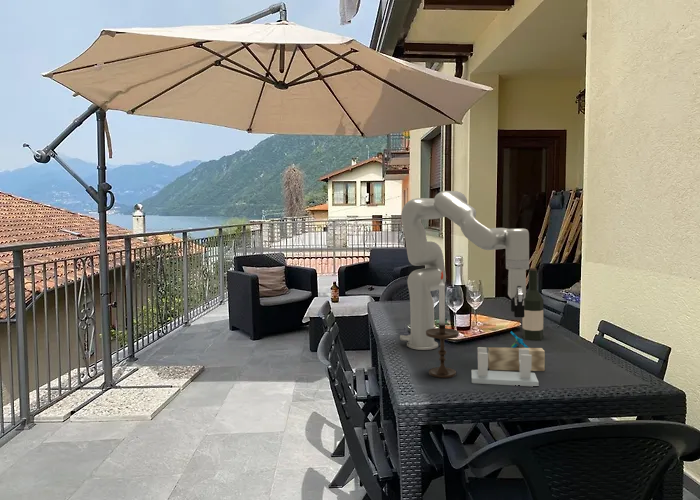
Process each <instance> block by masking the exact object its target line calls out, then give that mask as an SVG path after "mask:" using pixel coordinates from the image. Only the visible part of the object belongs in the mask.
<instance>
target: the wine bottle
mask: <svg viewBox="0 0 700 500" xmlns="http://www.w3.org/2000/svg"><path fill="white" fill-rule="evenodd" d="M526 291H527V292H526V295H525V298H524V317H521V318H522V329H521V330H522V331H521V332H522V336H521V337H522V338H521V339H523V340H528V341H542V340H543V339H544V298H543V297H542V295H541V293H540V292H539V290H538V270H537V268H536V267H529V269H528V289H527V290H526Z"/></svg>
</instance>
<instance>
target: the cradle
mask: <svg viewBox="0 0 700 500" xmlns="http://www.w3.org/2000/svg"><path fill="white" fill-rule="evenodd" d="M531 363H532V355H529V349H519V364H520V371H508V370H488V369H489V367H488V347H484V346H483V347H482V346H479V347H477V369H471V370H470V371H471V384H479V385H480V384H483V385H496V386H497V385H499V386H500V385H501V386H515V385H516V387H519V386H518V385H520V387H533V386H539V387H540V385H539V380H538V378H537V375H536V373H535V372H532V371H531Z"/></svg>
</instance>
